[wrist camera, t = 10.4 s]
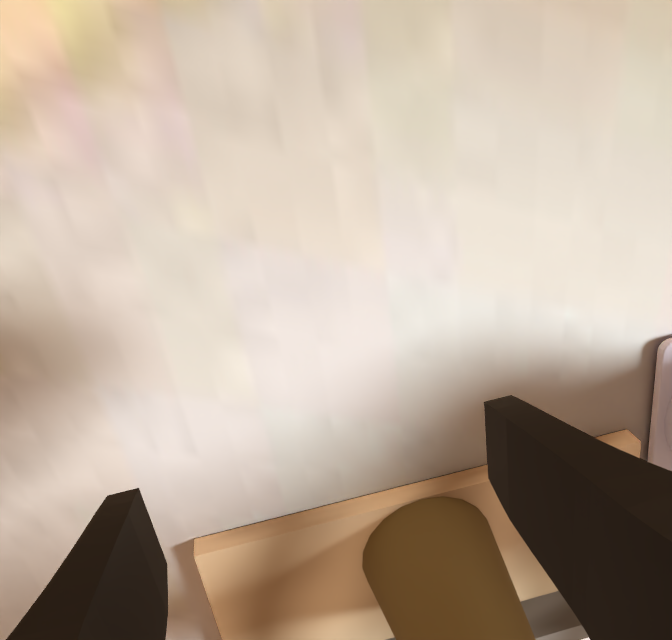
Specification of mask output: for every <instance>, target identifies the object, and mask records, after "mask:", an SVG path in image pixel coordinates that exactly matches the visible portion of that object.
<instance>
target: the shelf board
mask: <svg viewBox="0 0 672 640" xmlns="http://www.w3.org/2000/svg"><path fill="white" fill-rule="evenodd" d="M594 438H596V439H598V440H600V441H603V442H605V443H607V444H609V445H611V446H613V447H615V448H618V449H620V450H622V451H624V452H627V453H629V454H631V455H634V456H636V457H638V458H640V450H641V441H640V440H639V439H638V438H636V437H635V436H634V435H633V434H632V433H631V432H630V431H629V430H627V429H626V430H622V431H618V432H614V433H610V434H606V435H602V436H598V437H594ZM441 496H444V497H451V498H457V499H463V500H465V501H466V502H468V503H470V504H472V505H474V506H476V507H477V508H478V509H479V510H480V511H481V512H482V514H483V515H484V516H485V517H486V519H487V520H488V523H489V525H490V528H491V530H492V533H493V535H494V538H495V540H496V543H497V545H498V547H499V550H500V552H501V555H502V557H503V560H504V562H505V565H506V567H507V570H508V572H509V575H510V577H511V580H512V582H513V585H514V587H515V590H516V592H517V595H518V597H519V600H520V602H521V605H522V607H523V610H524V612H525V614H526V617H527V619H528V622H529V624H530V627H531V629H532V632H533V634H534V637H535V639H536V640H581V639H584V638H588V637H589V636H588V635H587V633H586V631H585V629H584V628H583V626H582V625H581V623H580V622H579V620H578V619H577V617H576V615H575V614H574V612H573V611H572V609H571V608H570V606H569V605H568V603H567V602H566V601H565V599H564V598H563V596H562V595H561V593H560V592H559V591H558V589H557V588H556V586H555V585H554V583H553V582H552V580H551V579H550V578H549V576H548V575H547V573H546V572H545V570H544V569H543V568H542V566H541V565H540V563H539V562H538V560H537V559H536V558H535V556H534V555H533V553H532V552H531V550H530V549H529V547H528V546H527V545H526V543H525V542H524V540H523V539H522V537H521V536H520V534H519V533H518V531H517V530H516V528H515V527H514V526H513V524H512V523H511V521H510V520H509V518H508V516H507V514H506V512H505V510H504V508H503V506H502V505H501V503H500V501H499V499H498V497H497V495H496V493H495V491H494V489H493V487H492V485H491V483H490V481H489V479H488V465H484V466H480V467H476V468H472V469H468V470H464V471H460V472H456V473H452V474H449V475H445V476H441V477H437V478H433V479H429V480H425V481H421V482H417V483H413V484H409V485H405V486H401V487H397V488H393V489H389V490H386V491H382V492H378V493H374V494H370V495H366V496H362V497H358V498H354V499H350V500H346V501H342V502H338V503H334V504H330V505H326V506H323V507H319V508H315V509H311V510H307V511H303V512H299V513H295V514H291V515H287V516H283V517H279V518H275V519H271V520H267V521H263V522H259V523H256V524H252V525H248V526H244V527H240V528H236V529H232V530H228V531H224V532H220V533H216V534H212V535H208V536H204V537H200V538H196V539H194V559H195V562H196V565H197V568H198V570H199V573H200V576H201V579H202V582H203V585H204V588H205V591H206V594H207V597H208V600H209V603H210V606H211V609H212V612H213V615H214V618H215V621H216V624H217V627H218V629H219V632H220V635H221V638H222V640H396V639H395V637H394V635H393V633H392V631H391V629H390V626H389V624H388V622H387V620H386V618H385V616H384V614H383V612H382V610H381V608H380V606H379V604H378V602H377V600H376V598H375V596H374V594H373V591H372V589H371V587H370V585H369V583H368V581H367V578H366V576H365V574H364V571H363V569H362V562H363V550H364V548H365V546H366V543H367V541H368V539H369V536H370V534H371V533H372V532H373V531H374V530H375V529H376V527H377V526H378V525H379V524H380V523H381V522H382V520H383V519H385V518H386V517H388V516H389V515H390V514H392V513H393V512H395V511H396V510H398V509H399V508H400V507H402V506H405V505H408V504H410V503H413V502H415V501H418V500H420V499H425V498H433V497H441Z"/></svg>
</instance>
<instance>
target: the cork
mask: <svg viewBox="0 0 672 640" xmlns="http://www.w3.org/2000/svg"><path fill="white" fill-rule="evenodd" d="M362 569H363V571H364V574H365V576H366V578H367V581H368V583H369V585H370V587H371V589H372V591H373V594H374V596H375V598H376V600H377V602H378V604H379V606H380V608H381V610H382V612H383V614H384V616H385V618H386V620H387V622H388V624H389V626H390V629H391V631H392V633H393V635H394V637H395V639H396V640H536V639H535V637H534V634H533V632H532V629H531V627H530V624H529V622H528V619H527V617H526V614H525V612H524V610H523V607H522V605H521V602H520V600H519V597H518V595H517V592H516V590H515V587H514V585H513V582H512V580H511V577H510V575H509V572H508V570H507V567H506V565H505V562H504V560H503V557H502V555H501V552H500V550H499V547H498V545H497V543H496V540H495V538H494V535H493V533H492V530H491V528H490V525H489V523H488V520H487V519H486V517H485V516H484V515H483V514H482V512H481V511H480V510H479V509H478V508H477V507H476V506H474V505H472V504H470V503H468V502H466V501H465V500H463V499H457V498H451V497H444V496H441V497H433V498H425V499H420V500H418V501H415V502H413V503H410V504H408V505H405V506H402V507H400V508H399V509H398V510H396V511H395V512H393V513H392V514H390V515H389V516H388V517H386V518H385V519H383V520H382V522H381V523H380V524H379V525H378V526H377V527H376V529H375V530H374V531H373V532H372V533H371V534H370V536H369V539H368V541H367V543H366V546H365V548H364V550H363V562H362Z"/></svg>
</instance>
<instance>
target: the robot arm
mask: <svg viewBox="0 0 672 640" xmlns="http://www.w3.org/2000/svg"><path fill="white" fill-rule="evenodd" d="M484 408H485V426H486V445H487V464H488V479H489V481H490V483H491V485H492V487H493V489H494V491H495V493H496V495H497V497H498V499H499V501H500V503H501V505H502V506H503V508H504V510H505V512H506V514H507V516H508V518H509V520H510V521H511V523H512V524H513V526H514V527H515V528H516V530H517V531H518V533H519V534H520V536H521V537H522V539H523V540H524V542H525V543H526V545H527V546H528V547H529V549H530V550H531V552H532V553H533V555H534V556H535V558H536V559H537V560H538V562H539V563H540V565H541V566H542V568H543V569H544V570H545V572H546V573H547V575H548V576H549V578H550V579H551V580H552V582H553V583H554V585H555V586H556V588H557V589H558V591H559V592H560V593H561V595H562V596H563V598H564V599H565V601H566V602H567V603H568V605H569V606H570V608H571V609H572V611H573V612H574V614H575V615H576V617H577V619H578V620H579V622H580V623H581V625H582V626H583V628H584V629H585V631H586V633H587V635H588V636H589V638H590V640H672V338H669V339H666V340H664V341H663V342H662V343H661V344H660V346H659V347H658V351H657V361H656V372H655V383H654V394H653V405H652V416H651V427H650V438H649V449H648V460H647V461H645V460H643V459H640V458H638V457H636V456H634V455H631V454H629V453H627V452H624V451H622V450H620V449H618V448H615V447H613V446H611V445H609V444H607V443H605V442H603V441H600V440H598V439H596V438H594V437H592V436H590V435H588V434H586V433H584V432H582V431H580V430H578V429H576V428H574V427H572V426H570V425H568V424H566V423H565V422H563V421H561V420H559V419H557V418H555V417H553V416H551V415H549V414H547V413H545V412H544V411H542V410H540V409H538V408H536V407H534V406H532V405H530V404H528V403H526V402H524V401H522V400H520V399H518V398H516V397H514V396H512V395H510V396H506V397H502V398H498V399H494V400H490V401H486V402H484ZM167 617H168V583H167V562H166V560H165V557H164V554H163V552H162V549H161V546H160V544H159V541H158V538H157V536H156V533H155V530H154V528H153V525H152V522H151V520H150V517H149V514H148V512H147V509H146V506H145V504H144V501H143V498H142V496H141V493H140V490H139V488H137V489H133V490H129V491H124V492H120V493H116V494H112V495H108V496H107V497H106V499H105V500H104V501H103V503H102V504H101V506H100V507H99V509H98V510H97V512H96V513H95V515H94V516H93V518H92V519H91V521H90V522H89V524H88V525H87V527H86V529H85V530H84V532H83V533H82V535H81V536H80V538H79V539H78V541H77V542H76V544H75V545H74V547H73V548H72V550H71V551H70V553H69V554H68V556H67V557H66V559H65V560H64V562H63V563H62V565H61V566H60V568H59V569H58V570H57V572H56V573H55V575H54V576H53V578H52V579H51V581H50V582H49V584H48V585H47V586H46V588H45V589H44V591H43V592H42V593H41V595H40V596H39V597H38V599H37V600H36V601H35V603H34V604H33V605H32V607H31V608H30V609H29V611H28V612H27V613H26V615H25V616H24V617H23V619H22V620H21V621H20V623H19V624H18V625H17V627H16V628H15V629H14V630H13V632H12V633H11V634H10V635H9V637H8V638H7V639H6V640H165V637H166V628H167Z"/></svg>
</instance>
